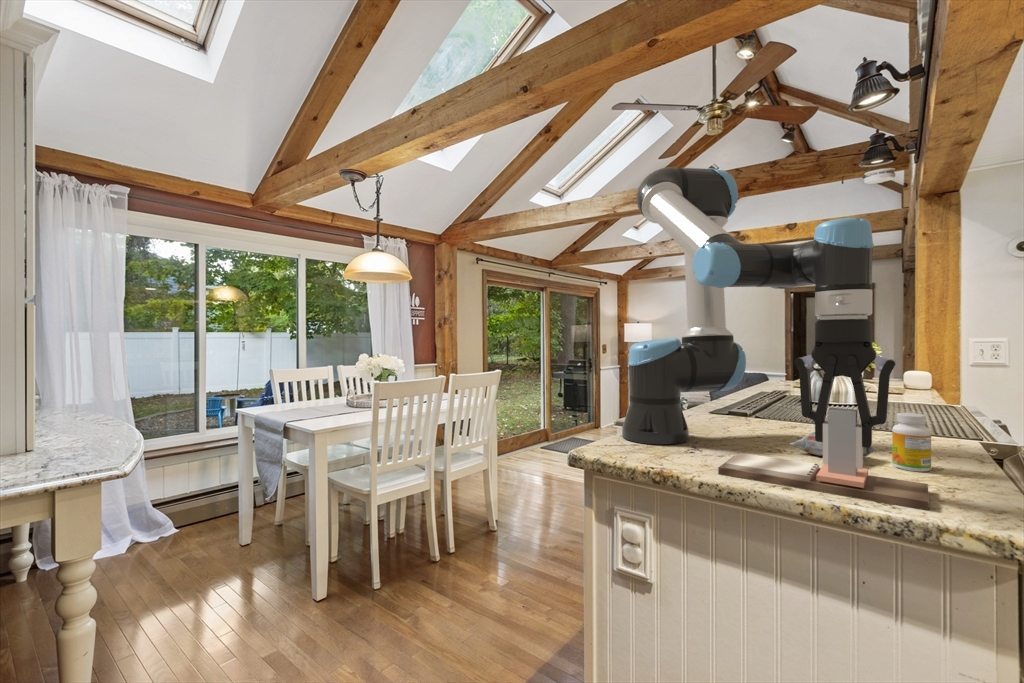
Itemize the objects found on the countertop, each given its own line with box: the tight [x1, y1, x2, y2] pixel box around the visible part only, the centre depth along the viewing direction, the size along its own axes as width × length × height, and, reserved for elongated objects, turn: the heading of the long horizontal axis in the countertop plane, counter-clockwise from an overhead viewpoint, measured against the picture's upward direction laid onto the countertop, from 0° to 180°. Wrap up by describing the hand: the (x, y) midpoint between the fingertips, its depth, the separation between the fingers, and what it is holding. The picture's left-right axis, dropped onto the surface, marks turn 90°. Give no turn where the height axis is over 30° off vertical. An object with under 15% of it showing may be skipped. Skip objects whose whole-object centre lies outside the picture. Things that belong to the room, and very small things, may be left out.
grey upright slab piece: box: [816, 407, 869, 488], centre depth 77 cm, size 6×9×11 cm, turn 140°
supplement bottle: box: [891, 412, 932, 473], centre depth 86 cm, size 5×5×10 cm
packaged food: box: [789, 431, 878, 458], centre depth 95 cm, size 9×12×5 cm
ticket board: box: [717, 452, 930, 511], centre depth 79 cm, size 28×10×2 cm, turn 50°
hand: (842, 464), depth 77 cm, fingers closed on grey upright slab piece, 4 cm apart
